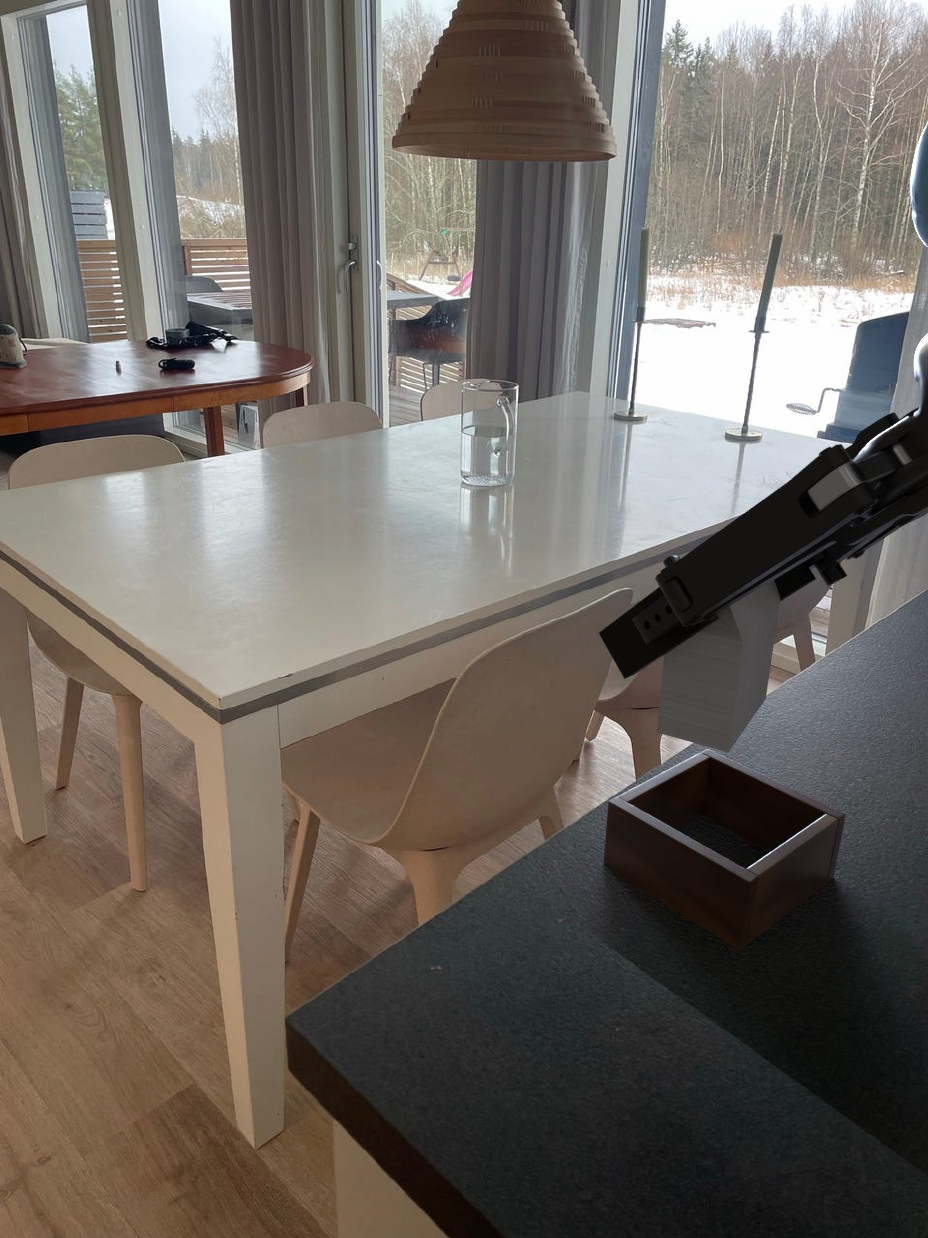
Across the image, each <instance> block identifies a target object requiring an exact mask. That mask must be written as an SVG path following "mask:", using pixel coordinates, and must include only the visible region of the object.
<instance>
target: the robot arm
mask: <svg viewBox="0 0 928 1238" xmlns="http://www.w3.org/2000/svg"><path fill="white" fill-rule="evenodd" d="M909 189H910V190H909V194H910V201H911V202H910V203H911V209H912V211H911V218H912V221H913V225H914V229H915V232H916V233H917V236H918V237H919V239H920V241H921V242H922V243H923V245H924V246H925V247H927V248H928V121H927V122H926V124H925V126H924V128H923V131H922V133H921V135H920V138H919V140H918V143H917V146H916V148H915V153H914V157H913V160H912V167H911V173H910V183H909ZM913 373H914V378H915V381H916V382H917V383H918V391H919V405H918V407H916V408H914V409H912V410H910V411H909V412H907V413H906V414H904V415H903V416H902V417H899V416H898V414H897V413H896V412H894V411H893V412H890V413H887V414H886V415H884V416H882V417H881V418H879V419H877V420H876V421H874V422H873V423H871V424H870V425H868V426H867V427H865V428H864V429H862V430H861V431H860V432H859V433H857V435H856V437H855V439H854V442H852V443H851V444H850V445H849V446H847V447H844V445H843V444H842V443H839V444H835V445H833V446H827V447H826V448H823V450H821V451H820V452H819V453H818V456H816V457H815V458H814V459H813V460H812V461H810V462H809V463H808V464H807V465H806V466H805V467H803V468H802V469H801V470H800V471H799V472H797V473H796V474H795V475H794V476H793V477H792V478H790V479H789V480H788V481H787V482H785V483H784V484H783V485H781V486H780V487H778V488H777V489H776V490H774V491H773V492H771V493H770V494H769V495H767V496H766V497H764V498H763V499H761V500H760V501H759V502H758V503H756V504H755V505H753V506H752V507H750V508H749V509H748V510H746V511H745V512H744V513H742V514H741V515H739V516H738V517H736V518H735V519H734V520H733V521H731V522H730V523H728V524H727V525H726V526H724V527H723V528H721V529H720V530H718V531H717V532H716V533H714V534H713V535H711V536H710V537H708V539H706V540H705V541H703V542H701V543H700V544H699V545H698V546H696V547H694V548H693V549H692V550H690V551H689V552H687V553H686V554H685V555H684V556H682V557H680V555H669V556H668V557H666V558H665V559H664V560H663V561H662V564H663V566H664V567H663V569H661V570H660V572H659V573H658V574H656V575H655V577H654V580H655V582H656V583H657V584H658V587H657V588H656V589H654V590H653V591H651V592H650V593H649V594H648V595H646V596H645V597H643V598H642V599H641V600H640V601H639V602H637V603H636V604H634V605H633V606H631V608H629V609H628V610H627V611H625V612H624V613H623V614H622V615H620V616H618V617H617V618H616V619H614V620H613V621H612V622H611V623H610V624H608V625H607V626H605V627H604V628H603V629H601V630H600V631H599V632H598V635H599V637H600V638H601V641H602V642H603V643H604V645H605V647H606V649H607V651H608V653H609V654H610V656H611V658H612V660H613V662H614V663H615V665H616V667H617V669H618V671H619V672H620V674H621V676H622V678H623V679H624V680H625V679H628V678H630V677H633V676H634V675H636V674H638V673H639V672H641V671H642V670H644V669H646V668H647V667H648V666H650V665H651V664H653V663H654V662H656V661H657V660H659V659H660V658H662V657H664V655H665V654H666V653H668V652H669V651H671V650H672V649H674V648H675V647H677V646H678V645H680V644H681V643H683V642H684V641H686V640H687V639H689V638H690V637H692V636H693V635H695V634H696V633H698V632H699V631H701V630H702V629H704V628H706V627H707V626H709V625H710V624H712V623H713V622H715V621H716V620H718V619H719V617H718V615H717V614H718V613H719V612H721V611H722V610H724V609H726V608H727V607H729V606H731V605H732V604H734V603H736V602H737V601H739V600H741V599H742V598H744V597H746V596H747V595H749V594H751V593H752V592H754V591H756V590H757V589H759V588H761V587H762V586H764V585H766V584H767V583H769V582H771V581H772V580H774V581H775V584H776V587H777V589H778V592H779V595H780V603H781V602H782V601H784V600H785V599H787V598H788V597H790V596H791V595H794V594H795V593H796V592H798V591H799V590H801V589H803V588H805V587H806V586H807V585H809V584H812V582H814V581H815V580H816V579H817V578H816V576H815V575H814V573H813V571H812V570H813V569H814V568H815V569H816V570H817V572H818V574H819V576H820V577H821V578H822V580H823V582H824V583H825V585H826V586H827V587H830V586H832V585H834V584H835V583H838V582H839V581H841V580H843V579H844V578H846V577H848V575H847V573H846V571H845V570H844V568H843V566H842V565H841V563H842V562H843V561H845V560H847V561H849V560H851V559H856V560H857V559H858V558H861V557H862V556H863V555H865V552H866V551H867V550H869V549H870V548H872V547H873V546H875V545H876V544H878V543H880V542H881V541H882V540H884V539H886V538H887V537H889V536H890V535H891V534H893V533H895V532H896V531H898V530H899V529H901V528H903V527H904V526H906V525H908V524H910V523H912V522H914V521H916V520H919V519H920V518H922V517H924V516H926V515H927V514H928V333H927V334H926V335H925V336H924V337H923V338H922V339H921V340H920V342H919V343H918V345H917V347H916V350H915V352H914V358H913Z"/></svg>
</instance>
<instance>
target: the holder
mask: <svg viewBox="0 0 928 1238" xmlns="http://www.w3.org/2000/svg"><path fill="white" fill-rule="evenodd" d="M606 813H607V816H606V825H605V827H606V828H605V838H604V852H603V865H604V866H606V867H608V868H610V869H611V870H612V871H614V872H615V873H617V874H619V876H621V877H624V878H625V879H626V880H628V881H630V882H631V883H633V884H634V885H636V886H637V887H638V888H641V889H642V890H644V891H645V892H647V893H648V894H650V895H651V896H653V897H654V898H656V899H658V900H659V901H661V902H662V903H664V904H665V905H667V906H668V907H670V908H672V909H673V910H674V911H676V912H678V913H679V914H681V915H682V916H684V917H685V918H687V919H688V920H690V921H692V922H694V923H695V924H696V925H698V926H700V927H702V928H703V929H704V930H706V931H707V932H709V933H711V934H712V935H714V936H715V937H717V938H719V939H720V940H722V941H723V942H724V943H726V944H728V945H729V946H731V947H732V948H734V949H736V950H738V951H741V950H742V949H744V948H745V947H746V946H748V944H750V943H751V942H752V941H755V939H756V938H758V937H759V936H760V935H761V934H763V933H764V932H766V931H767V930H768V929H769V928H770V927H772V926H773V925H774V924H775V923H777V922H778V921H780V920H781V919H782V918H783V917H785V916H786V915H787V914H789V913H790V912H792V911H793V910H794V909H795V908H796V907H798V906H799V905H800V904H802V903H803V902H804V901H806V899H808V898H809V897H810V896H812V895H813V894H815V893H816V892H817V891H818V890H820V889H821V888H822V887H823V886H825V885H826V884H827V883H829V882H830V881H831V880H833V879H834V876H835V872H836V867H837V862H838V856H839V852H840V851H839V850H840V846H841V843H842V842H841V841H842V837H843V831H844V825H845V820H846V813H844V812H842V811H840V810H838V809H835V808H834V807H832V806H830V805H827V804H825V803H823V802H821V801H819V800H816V799H815V798H812V797H810V796H808V795H806V794H804V793H802V792H800V791H798V790H795V789H793V788H791V787H789V786H788V785H785V784H783V783H781V782H780V781H777V780H774V779H772V778H771V777H768V776H767V775H764V774H762V773H760V772H758V771H756V770H754V769H751V768H749V767H747V766H746V765H743V764H741V763H739V762H737V761H735V760H732V759H731V758H729V757H726V756H724V755H722V754H720V753H718V752H715V751H714V750H712V749H710V748H706V749H705V750H702V751H701V752H699V753H696V754H695V755H693V756H691V757H689V758H687V759H685V760H683V761H682V762H680V763H678V764H675V765H674V766H672V767H670V768H668V769H667V770H665V771H663V772H661V773H659V774H656V775H655V776H653V777H652V778H650V779H648V780H646V781H644V782H642V783H640V784H639V785H636V786H635V787H633V788H631V789H629V790H627V791H625V792H623V793H622V794H620V795H618V796H615V797H614V798H612V799H610V800H608V802H607V812H606ZM702 817H705V818H706V819H708V820H710V821H712V822H713V823H716V824H717V825H718V826H721V827H723V828H725V829H726V830H729V831H730V832H732V833H734V834H735V835H738V836H740V837H741V838H743V839H745V840H747V841H749V842H751V843H753V844H754V845H756V846H758V847H760V848H762V849H764V850H765V851H767V852H769V853H767V854H766V855H764V856H763V857H762V858H760V859H759V860H757V861H755V862H754V863H752V864H751V865H750V866H748V867H747V868H744V867H743V866H741V865H739V864H738V863H735V862H734V861H732V860H730V859H729V858H727V857H725V856H723V855H722V854H719V853H718V852H716V851H714V850H712V849H711V848H709V847H708V846H705V845H703V844H702V843H700V842H698V841H696V840H695V839H694V838H691V837H690V836H688V835H686V834H684V833H682V832H681V831H680V830H683V828H685V827H687V826H688V825H691V824H692V823H694V822H695V821H696V820H697V821H698V819H700V818H702Z"/></svg>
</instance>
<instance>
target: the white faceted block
mask: <svg viewBox="0 0 928 1238" xmlns="http://www.w3.org/2000/svg"><path fill="white" fill-rule="evenodd" d="M780 603H781V602H780V595H779V592H778V589H777V587H776V584H775V581H774V580H772V581H771V582H769V583H767V584H766V585H764V586H762V587H761V588H759V589H757V590H756V591H754V592H752V593H751V594H749V595H747V596H746V597H744V598H742V599H741V600H739V601H737V602H736V603H734V604H732V605H731V606H729V607H727V608H726V609H724V610H722V611H721V612H719V613H718V614H717V615H718V617H719V619H718V620H716V621H715V622H713V623H712V624H710V625H709V626H707V627H706V628H704V629H702V630H701V631H699V632H698V633H696V634H695V635H693V636H692V637H690V638H689V639H687V640H686V641H684V642H683V643H681V644H680V645H678V646H677V647H675V648H674V649H672V650H671V651H669V652H668V653H666V654H665V655H663V662H662V663H663V665H662V673H661V685H660V696H659V705H658V715H657V725H656V726H657V727H656V733H657V734H660V735H664V736H668V737H671V738H675V739H679V740H682V741H685V742H690V743H693V744H696V745H700V746H703V747H704V746H705V747H707V748H709V749H710V748H711V749H715V750H718V751H722V752H726V753H729V752H730V751H731V749H732V748H733V747H734V746H735V744H736V743H737V741H738V739H739V738H740V737H741V735H742V734H743V732H744V731H745V730H746V728H747V727H748V725H749V723H751V720H752V719H753V718H754V716H755V715H756V714H757V712H758V711H759V709H760V708H761V706H763V704H764V702H765V701H766V699H767V694H768V693H767V692H768V687H769V680H770V672H771V667H772V661H773V660H772V659H773V654H774V653H773V652H774V646H775V638H776V632H777V625H778V617H779V610H780Z"/></svg>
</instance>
